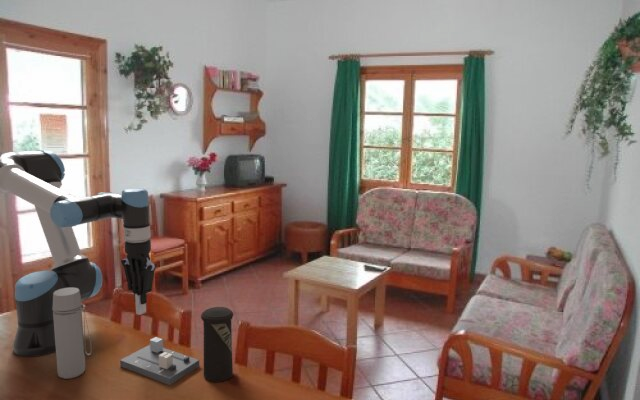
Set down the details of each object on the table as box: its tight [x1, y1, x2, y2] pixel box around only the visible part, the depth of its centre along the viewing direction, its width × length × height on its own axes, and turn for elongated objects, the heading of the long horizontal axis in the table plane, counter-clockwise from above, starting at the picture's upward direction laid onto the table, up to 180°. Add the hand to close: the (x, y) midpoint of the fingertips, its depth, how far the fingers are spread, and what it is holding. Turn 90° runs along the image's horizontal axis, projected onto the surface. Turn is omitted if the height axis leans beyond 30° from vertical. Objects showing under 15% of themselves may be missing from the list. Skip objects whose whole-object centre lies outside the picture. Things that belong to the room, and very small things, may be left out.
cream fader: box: [159, 352, 173, 369], centre depth 139 cm, size 3×2×4 cm
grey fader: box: [149, 336, 164, 353], centre depth 148 cm, size 3×2×4 cm
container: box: [200, 306, 234, 383], centre depth 138 cm, size 9×9×20 cm
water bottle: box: [52, 287, 93, 380], centre depth 136 cm, size 9×8×25 cm
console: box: [119, 344, 200, 386], centre depth 143 cm, size 20×12×3 cm, turn 62°
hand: (141, 312), depth 149 cm, fingers closed
